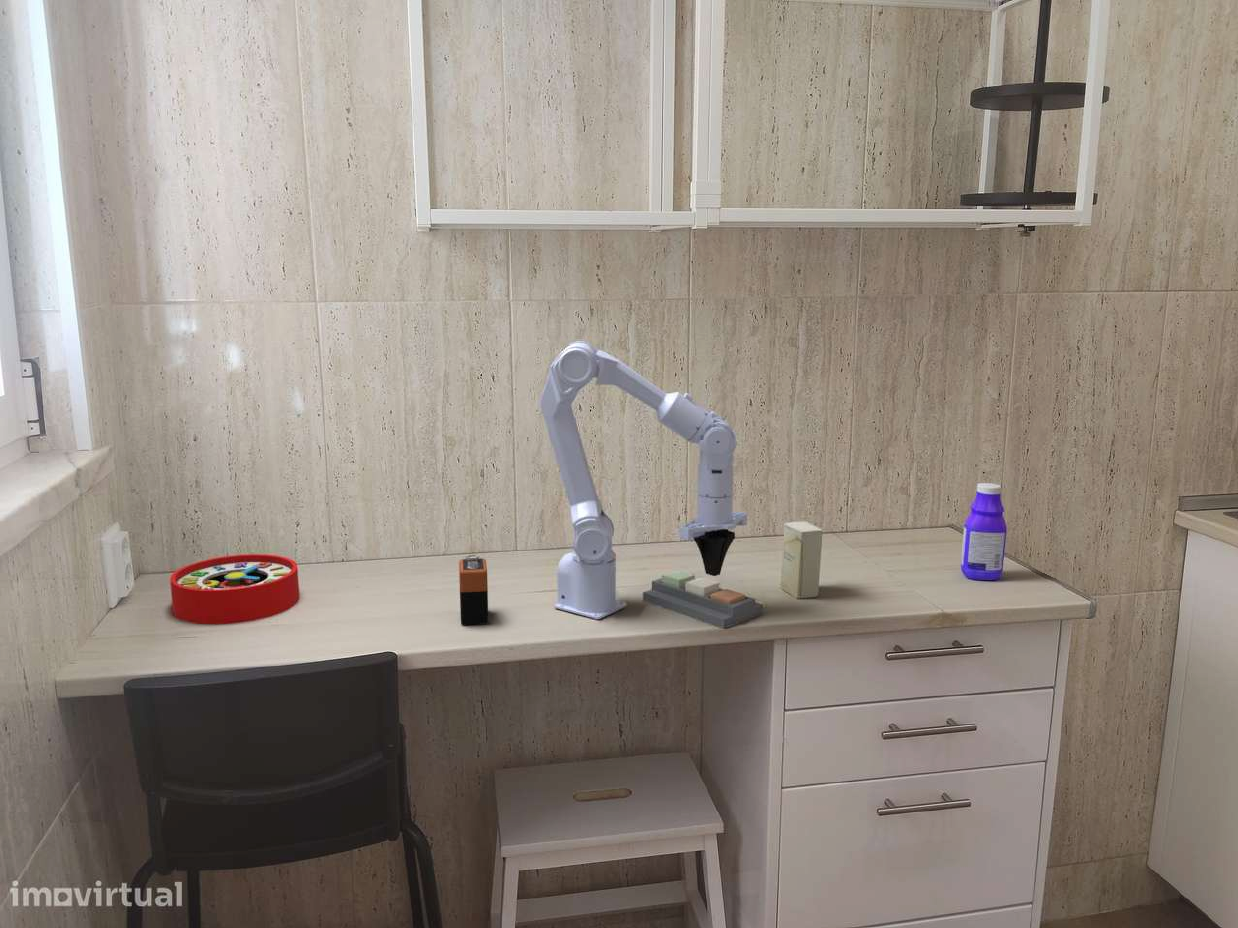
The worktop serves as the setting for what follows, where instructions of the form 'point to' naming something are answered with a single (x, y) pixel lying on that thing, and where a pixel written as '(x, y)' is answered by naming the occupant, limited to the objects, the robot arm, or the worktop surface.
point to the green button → (677, 578)
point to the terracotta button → (727, 596)
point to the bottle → (984, 535)
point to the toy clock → (234, 589)
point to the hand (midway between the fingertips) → (712, 574)
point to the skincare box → (801, 559)
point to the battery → (473, 590)
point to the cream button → (702, 586)
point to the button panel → (702, 605)
